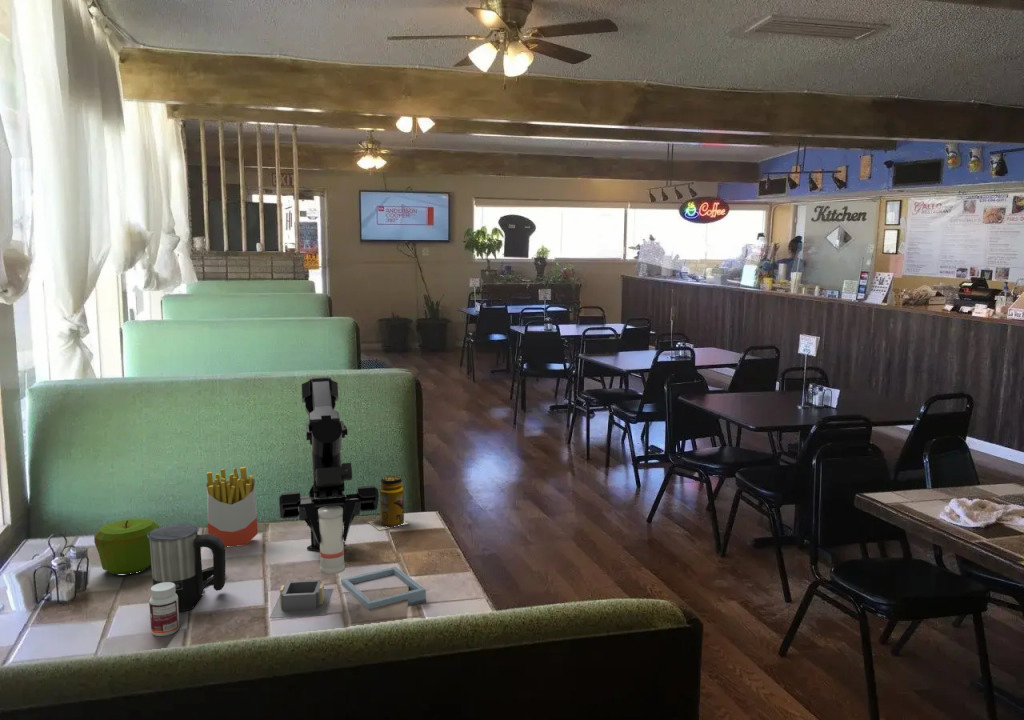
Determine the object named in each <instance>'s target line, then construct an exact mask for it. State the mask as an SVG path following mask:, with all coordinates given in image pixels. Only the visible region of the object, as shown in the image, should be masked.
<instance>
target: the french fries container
mask: <svg viewBox="0 0 1024 720" xmlns="http://www.w3.org/2000/svg"><path fill="white" fill-rule="evenodd" d="M239 471H240V478H239V474H238V468H237V467H235V468H234V467H233V473H230V474H228V480H227V474H226V468H221V469H220V473H215V478H214V480H213V472H212V471H208V472H206V478H207V482H206V485H205V486H206V487H205V488H206V510H207V511H206V512H207V531H208V533H207V534H210V535H214V536H217V537H218V538H220V539H221V540H222V542H223V543H224V545H225V548H228V547H227V546H234V547H238V546H237V545H242V546H247V545H248V544H249V543H250V542H251V540H253V539H254V538H255V537H256V536H257V535H258V517H257V516H258V514H257V512H258V511H257V493H256V478H254V476H253V474H252V475H248V474H247V466H241V467H239ZM213 481H214V482H213Z"/></svg>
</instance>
